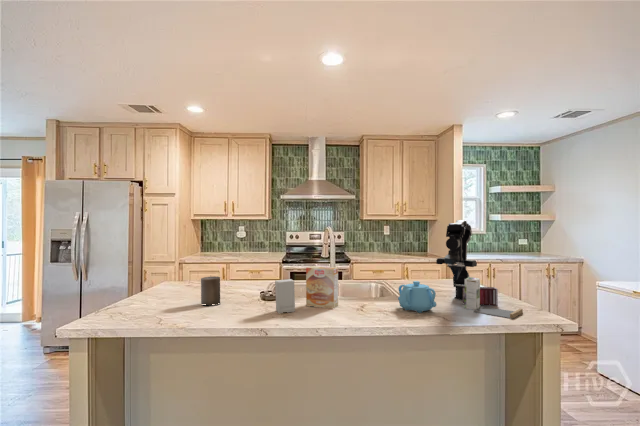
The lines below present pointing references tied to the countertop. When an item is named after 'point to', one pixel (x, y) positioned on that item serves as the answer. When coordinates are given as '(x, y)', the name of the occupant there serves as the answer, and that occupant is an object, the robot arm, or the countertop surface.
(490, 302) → the supplement box
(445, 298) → the countertop surface
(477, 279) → the syrup box
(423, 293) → the decorative pot
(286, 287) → the skincare box
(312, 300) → the coffeecake box
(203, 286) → the pillar candle
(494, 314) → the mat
